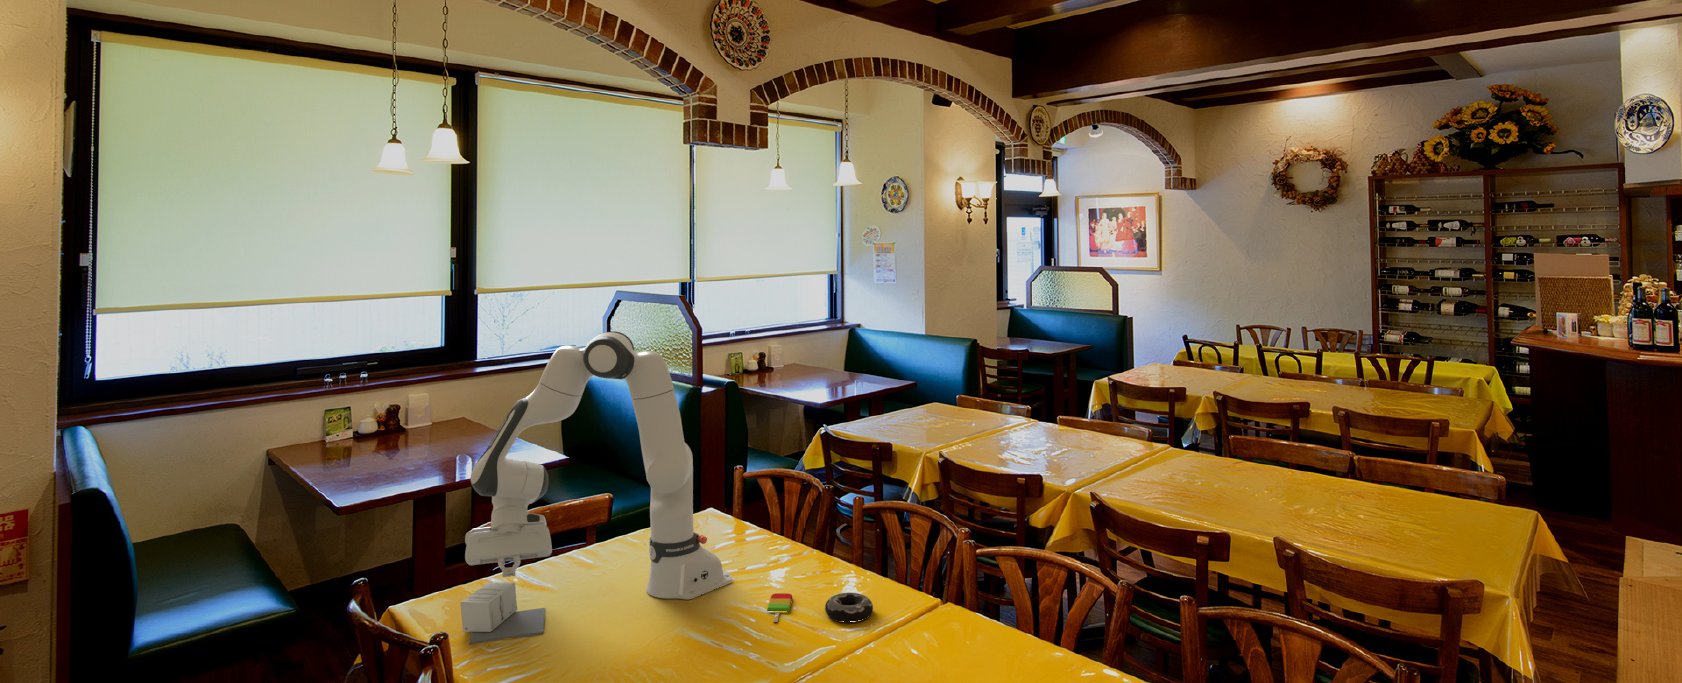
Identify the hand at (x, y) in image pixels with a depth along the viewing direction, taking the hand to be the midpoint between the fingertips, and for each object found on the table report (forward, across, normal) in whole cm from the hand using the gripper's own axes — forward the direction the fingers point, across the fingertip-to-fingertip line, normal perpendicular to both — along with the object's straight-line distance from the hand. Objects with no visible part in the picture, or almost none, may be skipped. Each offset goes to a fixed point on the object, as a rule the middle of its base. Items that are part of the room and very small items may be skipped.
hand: (509, 575), depth 203 cm
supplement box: (+2, -2, +6) cm, 6 cm away
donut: (+27, +79, -12) cm, 84 cm away
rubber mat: (+12, 0, +2) cm, 12 cm away
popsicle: (+22, +63, -6) cm, 67 cm away
